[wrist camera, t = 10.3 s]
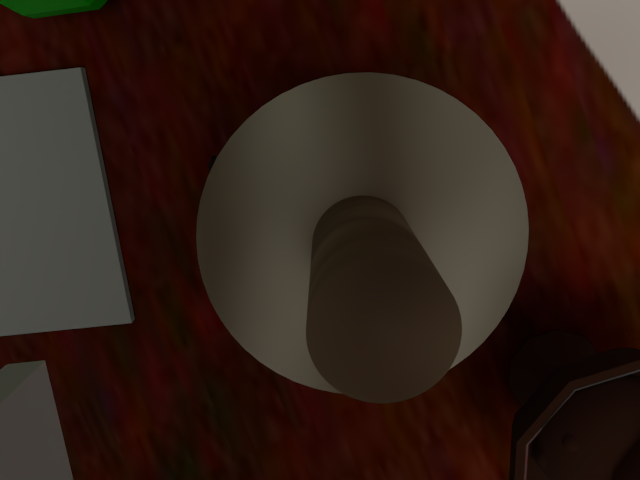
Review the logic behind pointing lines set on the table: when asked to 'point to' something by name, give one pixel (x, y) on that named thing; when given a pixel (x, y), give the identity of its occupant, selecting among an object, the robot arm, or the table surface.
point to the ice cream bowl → (575, 410)
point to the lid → (362, 235)
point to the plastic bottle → (51, 6)
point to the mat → (56, 210)
